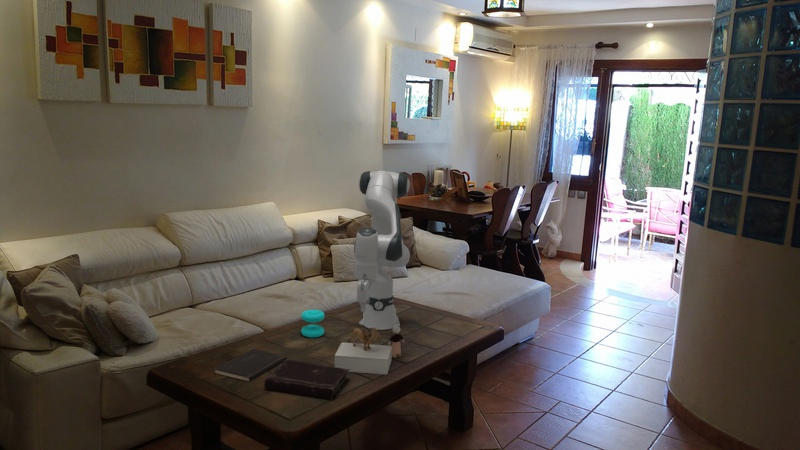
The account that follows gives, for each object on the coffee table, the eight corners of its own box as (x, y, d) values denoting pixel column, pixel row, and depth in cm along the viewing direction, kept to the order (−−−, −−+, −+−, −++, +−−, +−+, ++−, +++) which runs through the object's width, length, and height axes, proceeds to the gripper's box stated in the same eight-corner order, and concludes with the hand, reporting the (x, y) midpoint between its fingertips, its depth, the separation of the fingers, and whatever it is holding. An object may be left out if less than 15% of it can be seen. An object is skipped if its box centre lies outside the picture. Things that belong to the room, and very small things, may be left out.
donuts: (300, 315, 265) (302, 308, 275) (299, 338, 267) (302, 330, 276) (323, 316, 265) (325, 309, 275) (323, 338, 267) (325, 330, 277)
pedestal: (341, 356, 248) (341, 342, 247) (391, 360, 246) (392, 345, 245) (334, 370, 234) (334, 355, 233) (387, 374, 232) (387, 359, 231)
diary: (332, 402, 209) (332, 388, 209) (264, 392, 215) (264, 378, 214) (350, 380, 227) (350, 367, 226) (287, 370, 233) (287, 358, 232)
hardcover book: (213, 374, 228) (213, 368, 227) (253, 354, 248) (253, 348, 248) (249, 383, 221) (249, 377, 221) (286, 361, 242) (287, 356, 241)
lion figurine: (380, 349, 240) (381, 327, 239) (372, 353, 236) (373, 330, 235) (351, 340, 249) (352, 319, 247) (342, 344, 245) (343, 322, 243)
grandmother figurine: (398, 352, 255) (399, 322, 253) (405, 355, 252) (406, 325, 250) (385, 356, 249) (386, 326, 247) (391, 359, 247) (392, 328, 244)
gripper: (370, 279, 223) (369, 316, 226) (377, 266, 244) (376, 300, 246) (353, 278, 224) (352, 315, 226) (361, 265, 244) (361, 299, 246)
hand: (365, 307), depth 236 cm, fingers open, 8 cm apart
